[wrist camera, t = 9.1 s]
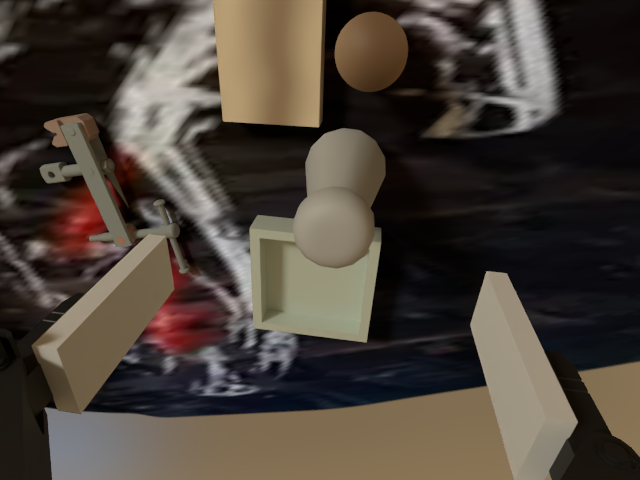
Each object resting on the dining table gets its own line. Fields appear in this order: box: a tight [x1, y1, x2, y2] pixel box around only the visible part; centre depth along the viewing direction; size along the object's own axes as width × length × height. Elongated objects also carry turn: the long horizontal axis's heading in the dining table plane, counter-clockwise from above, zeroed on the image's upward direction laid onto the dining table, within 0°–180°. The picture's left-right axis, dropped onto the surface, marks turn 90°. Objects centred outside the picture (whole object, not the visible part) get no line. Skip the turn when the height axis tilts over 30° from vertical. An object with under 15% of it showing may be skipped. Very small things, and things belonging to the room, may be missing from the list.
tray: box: [250, 215, 381, 343], centre depth 36 cm, size 11×11×2 cm
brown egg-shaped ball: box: [335, 12, 408, 92], centre depth 25 cm, size 4×4×6 cm
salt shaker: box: [293, 128, 386, 269], centre depth 26 cm, size 6×6×13 cm
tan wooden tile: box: [213, 0, 326, 127], centre depth 28 cm, size 7×10×2 cm
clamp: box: [40, 113, 190, 274], centre depth 36 cm, size 15×2×10 cm
